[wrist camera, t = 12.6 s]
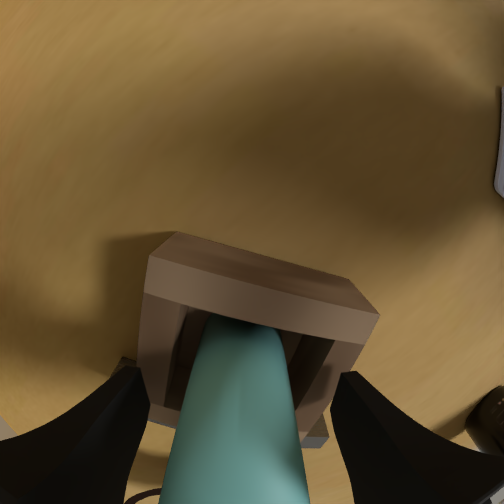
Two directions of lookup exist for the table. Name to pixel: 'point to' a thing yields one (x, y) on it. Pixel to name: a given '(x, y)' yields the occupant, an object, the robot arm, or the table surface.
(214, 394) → the dowel
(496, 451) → the supplement bottle
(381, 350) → the table surface
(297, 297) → the square wooden box
